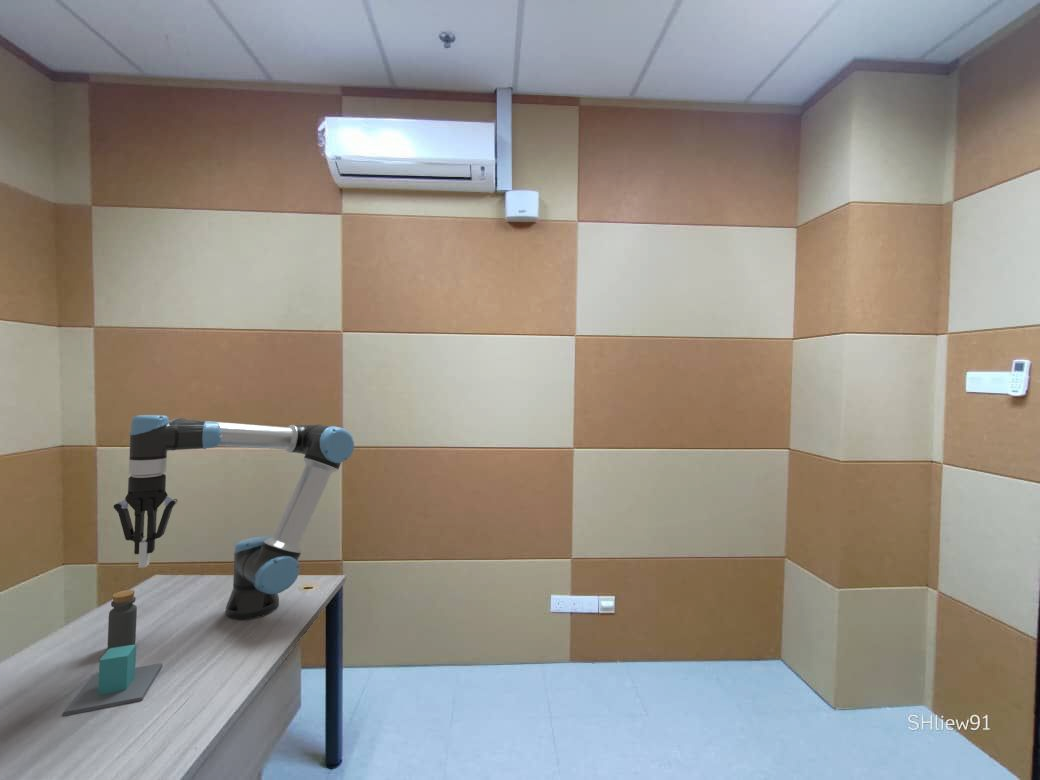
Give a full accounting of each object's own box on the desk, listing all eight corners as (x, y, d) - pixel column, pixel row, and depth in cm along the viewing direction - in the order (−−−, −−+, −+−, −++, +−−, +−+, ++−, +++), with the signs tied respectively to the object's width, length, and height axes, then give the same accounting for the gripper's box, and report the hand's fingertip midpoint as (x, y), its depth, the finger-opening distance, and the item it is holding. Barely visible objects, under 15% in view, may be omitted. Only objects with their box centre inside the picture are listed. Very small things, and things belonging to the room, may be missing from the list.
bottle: (118, 654, 121) (120, 599, 121) (101, 651, 122) (103, 596, 123) (140, 643, 127) (143, 590, 127) (124, 640, 128) (126, 587, 128)
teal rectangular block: (134, 676, 111) (136, 644, 111) (126, 689, 107) (127, 655, 107) (107, 681, 109) (109, 648, 109) (98, 694, 104) (99, 660, 105)
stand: (162, 666, 117) (163, 639, 117) (142, 700, 104) (143, 670, 104) (92, 678, 111) (94, 649, 112) (62, 715, 99) (63, 683, 99)
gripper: (182, 471, 122) (178, 557, 122) (121, 473, 117) (118, 563, 117) (173, 476, 116) (170, 567, 115) (109, 478, 110) (105, 574, 110)
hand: (144, 565), depth 116 cm, fingers closed
